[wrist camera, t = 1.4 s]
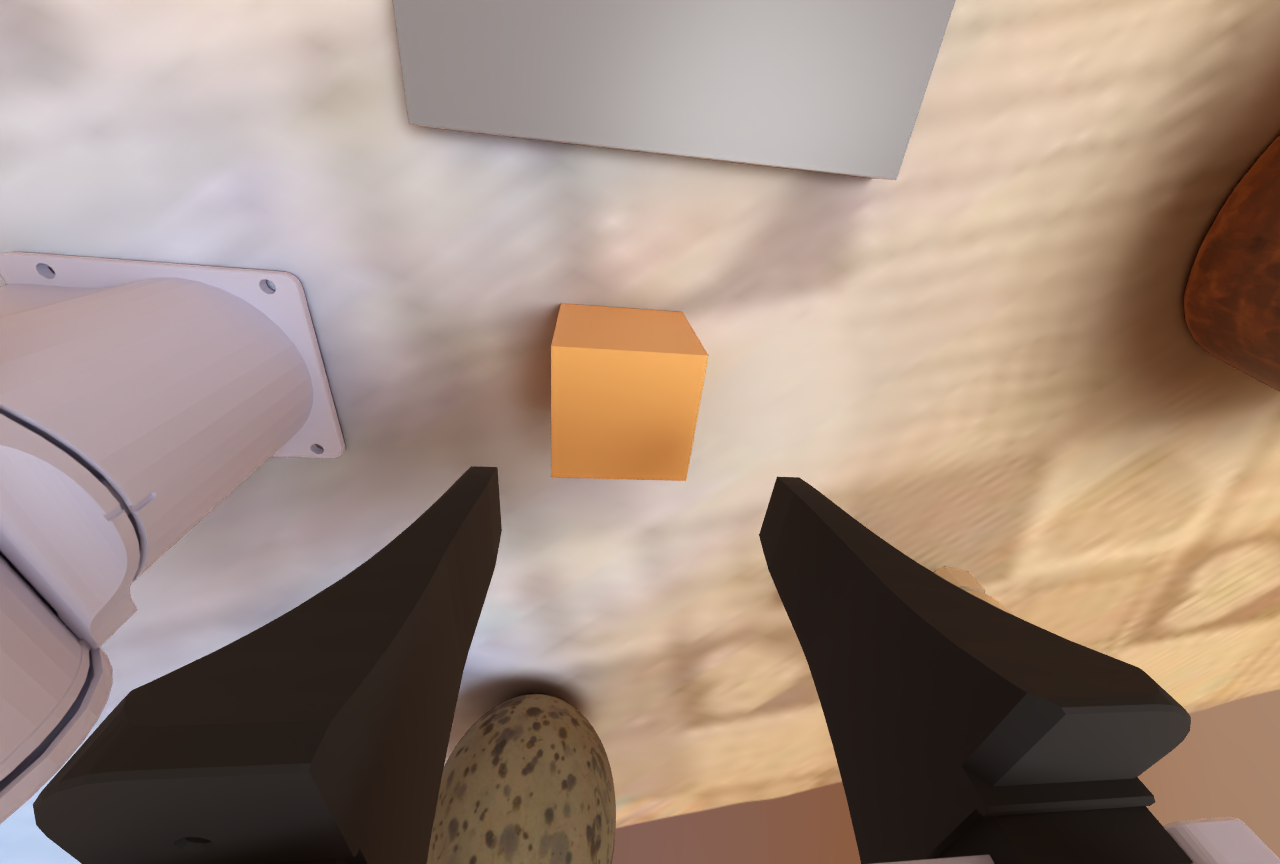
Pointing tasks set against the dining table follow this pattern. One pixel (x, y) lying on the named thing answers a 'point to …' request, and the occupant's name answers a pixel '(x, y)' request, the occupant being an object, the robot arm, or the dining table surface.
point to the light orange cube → (624, 393)
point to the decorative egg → (526, 790)
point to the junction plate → (680, 75)
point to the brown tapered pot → (1242, 276)
